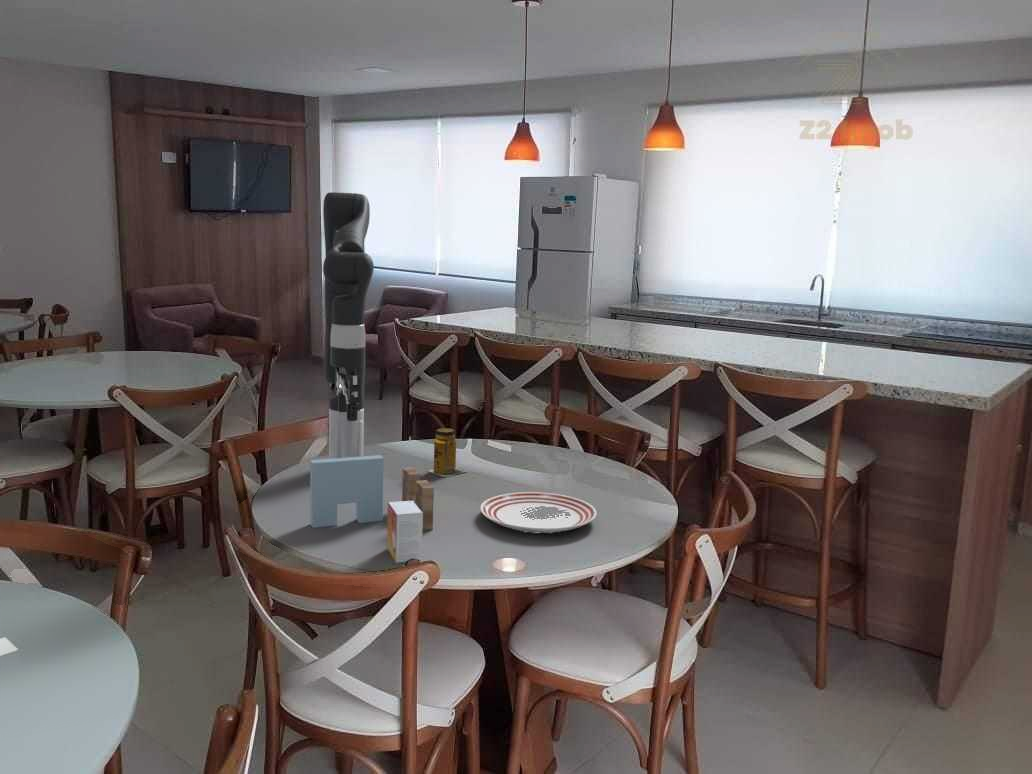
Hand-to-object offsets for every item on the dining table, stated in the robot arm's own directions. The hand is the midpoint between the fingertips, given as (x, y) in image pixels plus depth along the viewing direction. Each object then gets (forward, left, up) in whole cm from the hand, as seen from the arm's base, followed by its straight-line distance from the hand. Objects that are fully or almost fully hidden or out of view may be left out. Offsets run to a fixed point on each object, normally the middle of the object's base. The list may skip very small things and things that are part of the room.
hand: (347, 416), depth 196 cm
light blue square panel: (0, 0, -25) cm, 25 cm away
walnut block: (+2, +16, -25) cm, 30 cm away
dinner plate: (+11, +43, -25) cm, 51 cm away
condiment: (-31, +35, -25) cm, 53 cm away
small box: (+22, +7, -25) cm, 34 cm away
